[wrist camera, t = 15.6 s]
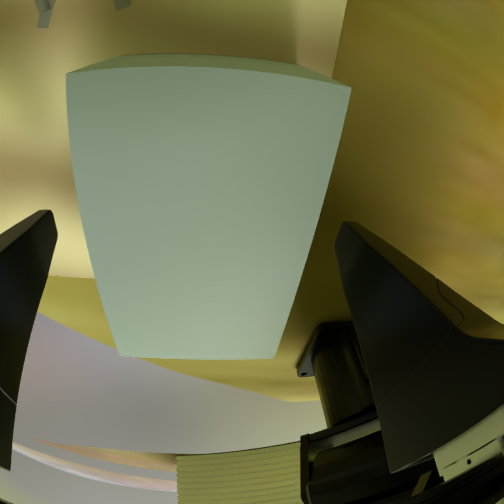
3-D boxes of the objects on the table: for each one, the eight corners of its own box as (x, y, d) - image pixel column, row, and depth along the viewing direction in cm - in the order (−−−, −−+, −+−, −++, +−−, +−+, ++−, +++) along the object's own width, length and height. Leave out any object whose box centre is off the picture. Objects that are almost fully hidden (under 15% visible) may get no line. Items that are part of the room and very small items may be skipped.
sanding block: (258, 272, 14) (274, 358, 11) (136, 269, 13) (120, 355, 10) (296, 63, 9) (351, 87, 5) (124, 54, 8) (65, 74, 4)
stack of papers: (197, 467, 46) (201, 519, 38) (176, 454, 40) (178, 518, 31) (374, 435, 46) (389, 487, 37) (386, 417, 39) (405, 479, 31)
